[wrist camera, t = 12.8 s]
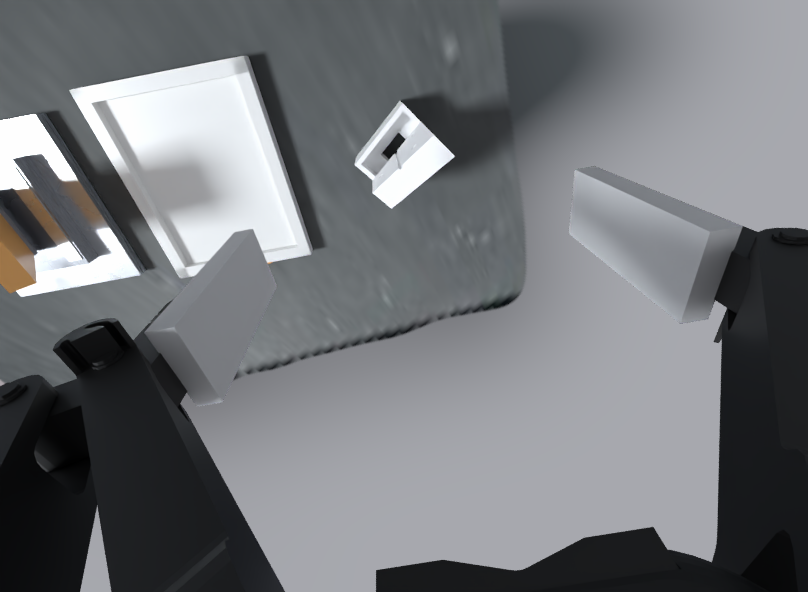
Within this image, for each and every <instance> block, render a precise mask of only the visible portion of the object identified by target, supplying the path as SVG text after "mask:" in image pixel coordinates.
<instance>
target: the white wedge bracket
mask: <svg viewBox="0 0 808 592" xmlns="http://www.w3.org/2000/svg"><path fill="white" fill-rule="evenodd" d="M398 132H399V133H400V134H401V135H402V136H403V137H404V138H405V139H406V140H405V141H404V142H403V144H402V145H401V146H400V147H399V149H398V150H397V153H396V154H395V153H394V155H393V156H392V157H391V158H390V160H389V159H388V158H387V157H386V156H385V155H384V154H383V153H382V152H383V151H384V150H385V149H386V147H387V146H388V145H389V144H390V142H391V141H392V140H393V139H394V137H395V136H396V135H397V134H398ZM454 157H455V156H454V155H453V154H452V153H451V152H450V151H449V150H448V149H447V148H446V147H445V146H444V145H443V144H442V143H441V142H440V141H439V139H438V138H437V137H436V136H435V135H434V134H433V133H432V132H431V131H430V130H429V129H428V128H427V127H426V126H425V125H424V124H423V123H422V122H421V121H420V120H419V119H418V118H417V117H416V116H415V115H414V114H413V113H412V112H411V111H410V110H409V109H408V108H407V107H406V106H405V105H404V104H403V103H402V102H401V101H399V103H398V104H397V105H396V106H395V108H394V109H393V110H392V112H391V113H390V114H389V115H388V117H387V118H386V119H385V121H384V122H383V123H382V124H381V126H380V127H379V128H378V130H377V131H376V132H375V134H374V135H373V136H372V137H371V139H370V140H369V141H368V143H367V144H366V145H365V146H364V148H363V149H362V150H361V152H360V153H359V154H358V155H357V157H356V161H355V166H357V167H358V168H359V169H360V170H361V171H362V172H364V173H365V174H366V175H367V176H368V177H369V178H371V179H372V180H373V194H375V195H376V196H377V197H378V198H379V199H381V200H382V201H383V202H384V203H385V204H387V205H388V206H389V207H390V208H391V209H392V208H393V207H394V206H395V205H397V204H398V203H399V202H400V201H401V200H403V199H404V198H405V197H406V196H407V195H409V194H410V193H411V192H412V191H414V190H415V189H416V188H417V187H418V186H420V185H421V184H422V183H423V182H425V181H426V180H427V179H428V178H429V177H431V176H432V175H433V174H434V173H435V172H437V171H438V170H439V169H440V168H442V167H443V166H444V165H445V164H446V163H448V162H449V161H450V160H451V159H453V158H454Z"/></svg>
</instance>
